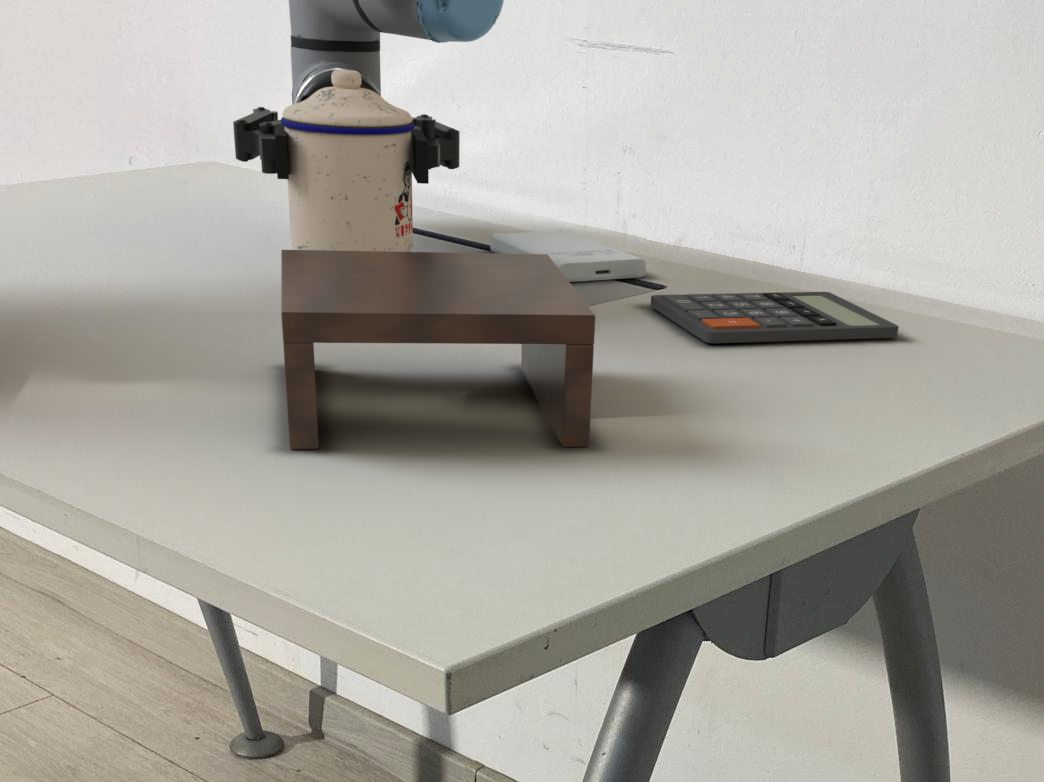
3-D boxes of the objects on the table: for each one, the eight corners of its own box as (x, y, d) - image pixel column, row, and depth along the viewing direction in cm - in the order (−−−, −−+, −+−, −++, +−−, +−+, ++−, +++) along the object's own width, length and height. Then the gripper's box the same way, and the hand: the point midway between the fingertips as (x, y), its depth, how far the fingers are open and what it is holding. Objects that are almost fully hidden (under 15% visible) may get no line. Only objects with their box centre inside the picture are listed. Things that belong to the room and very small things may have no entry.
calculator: (649, 292, 107) (828, 288, 112) (648, 305, 108) (826, 301, 112) (708, 329, 98) (901, 324, 103) (707, 343, 99) (899, 337, 103)
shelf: (289, 449, 75) (281, 312, 71) (288, 368, 88) (281, 249, 85) (589, 447, 78) (595, 315, 74) (544, 369, 91) (547, 254, 88)
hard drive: (573, 249, 126) (645, 277, 117) (489, 253, 123) (558, 283, 114) (573, 230, 126) (647, 256, 117) (490, 233, 122) (558, 261, 113)
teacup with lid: (427, 264, 100) (425, 79, 94) (296, 265, 98) (285, 75, 92) (397, 233, 110) (394, 63, 104) (277, 232, 108) (266, 59, 102)
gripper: (473, 175, 120) (509, 222, 101) (208, 166, 116) (194, 214, 97) (473, 75, 116) (511, 105, 97) (200, 62, 112) (183, 91, 93)
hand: (353, 159), depth 97 cm, fingers closed on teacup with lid, 9 cm apart
